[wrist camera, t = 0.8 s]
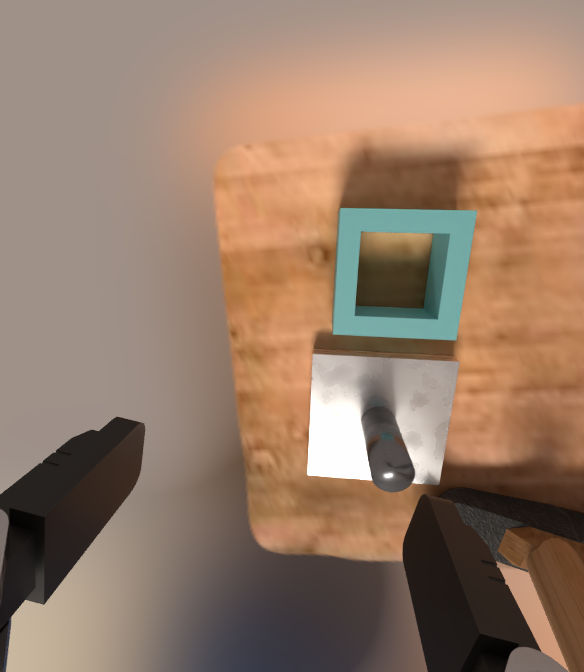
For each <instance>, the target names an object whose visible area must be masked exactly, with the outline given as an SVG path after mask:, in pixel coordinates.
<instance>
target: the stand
mask: <svg viewBox="0 0 584 672" xmlns="http://www.w3.org/2000/svg"><path fill="white" fill-rule="evenodd" d="M459 363H460V362H459V361H458V360H457V359H456V358H455V357H454V356H450V355H431V354H411V353H392V352H372V351H353V350H333V349H314V348H313V362H312V385H311V409H310V432H309V455H308V475H316V476H329V477H341V478H354V479H367V480H372V481H373V483H374V484H375V485H376V486H377V487H378V488H380V489H381V490H384V491H387V492H399V491H402V490H404V489H406V488H408V487H409V486H410V485H411V484H412V483H417V484H429V485H439V483H440V477H441V471H442V465H443V459H444V453H445V447H446V441H447V435H448V429H449V423H450V417H451V411H452V405H453V399H454V393H455V387H456V381H457V375H458V369H459Z"/></svg>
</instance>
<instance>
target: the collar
mask: <svg viewBox="0 0 584 672" xmlns="http://www.w3.org/2000/svg"><path fill="white" fill-rule="evenodd" d="M476 214H477V211H470V210H419V209H368V208H340V210H339V211H338V227H337V244H336V262H335V279H334V297H333V314H332V328H333V335H353V336H374V337H395V338H416V339H437V340H456V339H457V332H458V326H459V320H460V314H461V308H462V301H463V295H464V289H465V283H466V276H467V270H468V264H469V258H470V252H471V245H472V239H473V233H474V227H475V221H476ZM361 232H394V233H433V240H432V247H431V255H430V262H429V270H428V278H427V285H426V293H425V301H424V308H401V307H377V306H355V303H356V290H357V277H358V264H359V250H360V237H361Z"/></svg>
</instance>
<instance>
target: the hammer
mask: <svg viewBox="0 0 584 672" xmlns="http://www.w3.org/2000/svg"><path fill="white" fill-rule="evenodd" d="M440 498H442V499H446V500H450V501H452V502H453V503H454V504H455V506H456V508H457V510H458V512H459V514H460V516H461V519H462V521H463V523H464V524H465V525H469V526H471V527H472V528H473V529H474V530H475V531H476V532H477V534H478V535H479V536H480V537H481V538H482V539H483V540H484V542H485V543H486V544H487V545H488V547H489V549H490V551H491V553H492V555H493V557H494V559H495V561H498V562H500V563H503V564H506V565H509V566H512V567H515V568H518V569H520V570H524V571H527V572H529V574H530V577H531V579H532V581H533V584H534V587H535V589H536V591H537V594H538V596H539V599H540V601H541V604H542V606H543V608H544V611H545V613H546V616H547V618H548V621H549V623H550V626H551V628H552V630H553V633H554V635H555V638H556V640H557V643H558V645H559V647H560V650H561V652H562V655H563V657H564V660H565V662H566V665H567V667H568V670H569V672H584V514H581V513H578V512H574V511H570V510H567V509H563V508H560V507H556V506H553V505H549V504H544V503H539V502H534V501H529V500H524V499H519V498H514V497H509V496H503V495H498V494H493V493H488V492H483V491H478V490H473V489H468V488H454V489H450V490H448V491H446V492H445V493H443V495H442V496H441V497H440Z"/></svg>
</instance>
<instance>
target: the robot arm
mask: <svg viewBox="0 0 584 672" xmlns="http://www.w3.org/2000/svg"><path fill="white" fill-rule="evenodd" d="M144 436H145V425H144V423H141V422H137V421H133V420H128V419H124V418H120V417H116V418H114V419H113V420H111V421H110V422H109V423H108V424H107V425H106V426H104V427H103V428H102V429H101V430H100V431H95V430H90V431H87V432H85V433H83V434H80V435H78V436H76V437H73V438H71V439H70V440H69V441H68V442H66V443H65V444H64V445H62V446H61V447H60V448H59V449H57V450H56V453H52V454H51V455H50V456H49V457H47V458H46V459H45V460H44V461H43V463H42V464H41V463H40V464H38V465H37V466H36V467H35V468H33V469H32V470H31V471H30V472H28V473H27V474H26V475H24V476H23V477H22V478H21V479H19V480H18V481H17V482H16V483H14V484H13V485H12V486H11V487H9V488H8V489H7V490H5V491H4V492H3V493H2V494H0V672H6V665H7V656H8V647H9V639H10V630H11V616H12V615H13V614H14V613H15V611H16V610H17V609H18V608H19V606H21V604H22V603H23V602H24V601H25V600H29V601H32V602H36V603H40V604H43V605H44V604H45V603H46V602H47V600H48V599H49V598H50V596H51V595H52V594H53V592H54V591H55V590H56V588H57V587H58V586H59V585H60V583H61V582H62V581H63V579H64V578H65V577H66V576H67V574H68V573H69V572H70V570H71V569H72V568H73V566H74V565H75V564H76V563H77V561H78V560H79V559H80V557H81V556H82V555H83V554H84V552H85V551H86V550H87V548H88V547H89V546H90V544H91V543H92V542H93V541H94V539H95V538H96V536H97V535H98V534H99V533H100V531H101V530H102V529H103V528H104V526H105V525H106V524H107V522H108V521H109V520H110V519H111V517H112V516H113V515H114V513H115V512H116V510H117V509H118V508H119V507H120V506H121V504H122V503H123V502H124V500H125V499H126V498H127V496H128V495H129V494H130V493H131V491H132V490H133V488H134V486H135V485H136V482H137V480H138V477H139V475H140V471H141V464H142V454H143V445H144ZM403 563H404V568H405V571H406V577H407V581H408V585H409V590H410V594H411V599H412V603H413V608H414V612H415V616H416V621H417V626H418V630H419V634H420V638H421V643H422V648H423V652H424V657H425V661H426V665H427V670H428V672H568V671H567V670H566V669H565V668H564V667H562V666H561V665H560V664H559V663H558V662H556V661H555V660H554V659H552V658H551V657H549V656H548V655H546V654H544V653H542V652H541V650H540V648H539V646H538V644H537V642H536V640H535V638H534V636H533V634H532V632H531V630H530V628H529V626H528V624H527V622H526V620H525V618H524V616H523V614H522V612H521V610H520V608H519V607H518V605H517V603H516V601H515V599H514V597H513V595H512V593H511V591H510V589H509V587H508V585H506V584H505V579H504V577H503V575H502V573H501V571H500V569H499V568H498V567H497V563H496V561H495V559H494V557H493V555H492V553H491V551H490V549H489V547H488V545H487V544H486V543H485V542H484V540H483V539H482V538H481V537H480V536H479V535H478V534H477V532H476V531H475V530H474V529H473V528H472V527H471V526H469V525H465V524H464V523H463V521H462V519H461V516H460V514H459V512H458V510H457V508H456V506H455V504H454V503H453V502H452V501H450V500H446V499H442V498H438V497H434V496H430V495H426V494H424V495H422V496H421V497H420V499H419V501H418V504H417V506H416V509H415V512H414V514H413V517H412V519H411V522H410V524H409V527H408V529H407V532H406V535H405V538H404V542H403Z"/></svg>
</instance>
